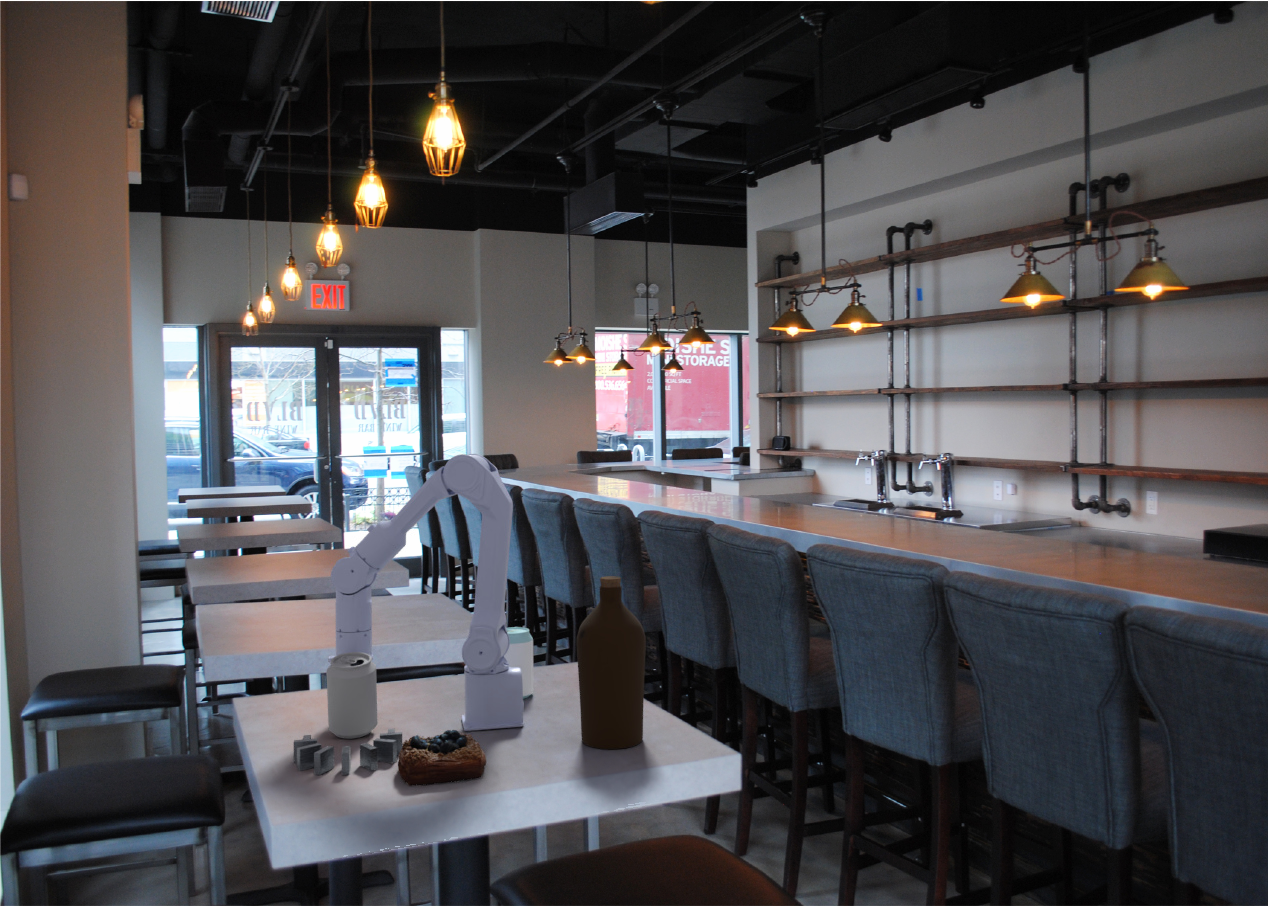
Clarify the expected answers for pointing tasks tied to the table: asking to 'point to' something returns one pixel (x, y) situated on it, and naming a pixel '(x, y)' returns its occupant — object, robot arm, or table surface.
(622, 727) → the olive oil
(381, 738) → the ring collar
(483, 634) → the robot arm
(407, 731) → the table surface
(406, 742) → the pastry
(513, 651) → the can
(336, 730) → the can
